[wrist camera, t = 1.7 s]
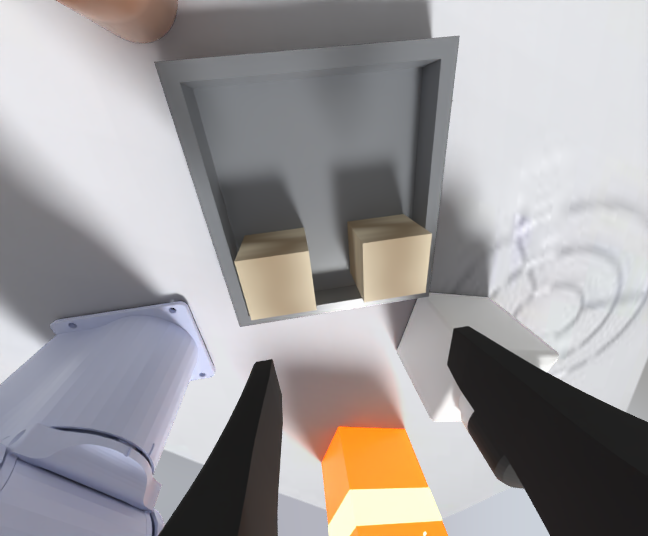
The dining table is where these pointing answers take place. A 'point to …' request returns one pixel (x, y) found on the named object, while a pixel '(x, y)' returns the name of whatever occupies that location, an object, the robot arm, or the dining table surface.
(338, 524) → the orange juice
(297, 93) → the tray
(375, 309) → the dining table surface
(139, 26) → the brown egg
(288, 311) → the birch block
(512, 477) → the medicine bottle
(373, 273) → the birch block
